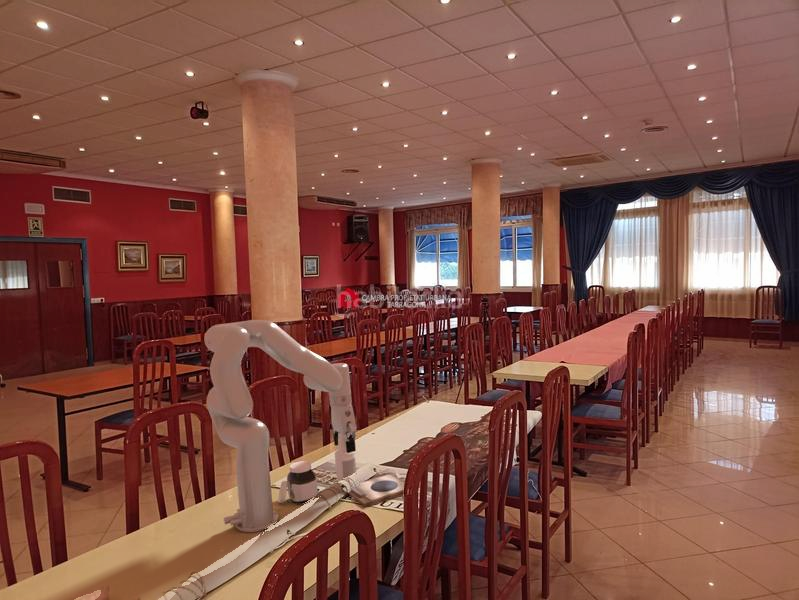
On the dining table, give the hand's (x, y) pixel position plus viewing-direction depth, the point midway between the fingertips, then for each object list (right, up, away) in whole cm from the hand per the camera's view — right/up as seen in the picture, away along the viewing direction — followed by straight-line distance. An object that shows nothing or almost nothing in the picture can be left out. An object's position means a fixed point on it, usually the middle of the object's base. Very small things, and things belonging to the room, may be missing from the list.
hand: (345, 448), depth 187 cm
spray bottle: (+1, -12, +1) cm, 12 cm away
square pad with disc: (+12, -12, -8) cm, 18 cm away
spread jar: (-14, -14, -11) cm, 23 cm away
